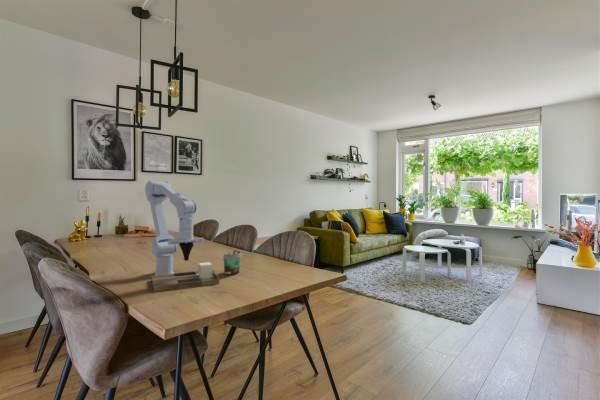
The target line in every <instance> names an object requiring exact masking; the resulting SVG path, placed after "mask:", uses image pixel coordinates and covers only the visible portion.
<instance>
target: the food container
mask: <svg viewBox="0 0 600 400" xmlns="http://www.w3.org/2000/svg"><path fill="white" fill-rule="evenodd" d="M222 256H223V257H222V258H223V265H224V266H223V269H224V270H223V271H224V272H223V273H224V276H235V275H239V274H240V267H241V258H242V256H243V255H242V252H241V251H240V250H235V249H234V250H233V251H232V252H229V253H228V254H223V255H222ZM238 273H239V274H238Z"/></svg>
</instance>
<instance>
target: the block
mask: <svg viewBox="0 0 600 400" xmlns="http://www.w3.org/2000/svg"><path fill="white" fill-rule="evenodd" d="M212 269H213V263H211V261H210V262H209V261H208V262H200V263H198V271H199V276H200V277H207V276H212Z"/></svg>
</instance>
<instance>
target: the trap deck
mask: <svg viewBox="0 0 600 400" xmlns="http://www.w3.org/2000/svg"><path fill="white" fill-rule="evenodd" d="M150 278H151V279H150V280H151V284H152V288H153V292H154V293H156V292H157V293H158V292H165V291H166V292H167V291H172V290H181V289H188V288H189V289H190V288H196V287H197V288H198V287H204V286H211V285H219V284H220V275H219V274H218V273H217V272H216V271H215V270H214V269H213V268H212V276H207V277H200V276H199V270H194V271H184V272H174V273H173V274H164V275H155V274H154V275H151V277H150Z"/></svg>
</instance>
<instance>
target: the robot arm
mask: <svg viewBox="0 0 600 400" xmlns="http://www.w3.org/2000/svg"><path fill="white" fill-rule="evenodd" d="M144 191H145V197H146V200H147V201H149V205H150V210H151V215H152V219H153V225H154V230H155V235H156V236H155V237H153V239H152V241H151V253H152V255H154V257H155V271H154V275H164V274H173V273H175V272H174V270H173V269H174V255H175V253H176V252H177V249H178V245H179V248H180V249H181V252H182V256H183V260H184V261H185V262H186V261H189V258H190V254H191V252H192V249H193V247H194V244H197V243H198V244H199V243H203V244H204V243H205V238H204V237H194V214H195V213H196V212H197V203H196V202H195V201H194V200H191V199H190V200H189V199H188V198H187V197H185V195H184V194H182V193H181V192H176V191H175V190H174V189H173V188H172V184H171V183H170V182H169V181H152V180H149V181H147V182H146V183H145V188H144ZM167 198H168V199H169V202H170V204H171V205H173V206H174V207H175V209H176V213H177V218H178V219H179V221H178V222H179V225H178V226H179V228H178V231H179V233H178V236H179V238H175V236H173V235H172V234H169V231H168V225H167V221H166V216H165V212H164V206H163V202H164V201H166V200H167Z"/></svg>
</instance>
